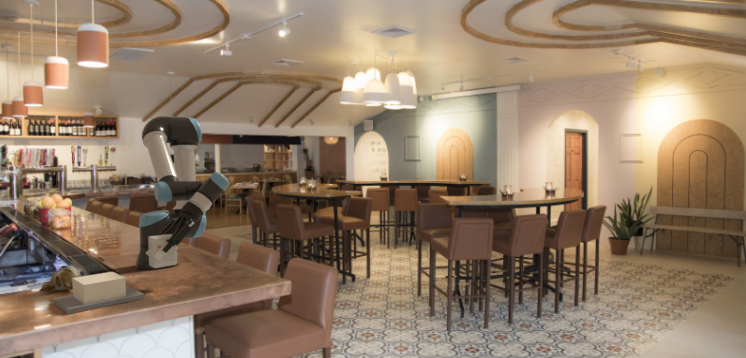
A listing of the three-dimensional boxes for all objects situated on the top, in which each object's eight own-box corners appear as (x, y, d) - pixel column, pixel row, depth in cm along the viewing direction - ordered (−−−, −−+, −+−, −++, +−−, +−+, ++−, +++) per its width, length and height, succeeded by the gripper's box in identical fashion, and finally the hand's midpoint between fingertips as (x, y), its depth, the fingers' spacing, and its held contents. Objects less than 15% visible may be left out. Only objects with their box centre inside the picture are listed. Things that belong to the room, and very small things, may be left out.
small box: (171, 261, 175) (170, 233, 174) (177, 264, 171) (177, 235, 170) (148, 265, 169) (147, 236, 168) (154, 268, 165) (153, 238, 165)
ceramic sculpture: (87, 259, 176) (71, 271, 161) (89, 282, 177) (72, 296, 162) (55, 261, 173) (35, 273, 159) (56, 284, 174) (37, 298, 160)
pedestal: (53, 303, 152) (52, 279, 152) (126, 289, 168) (125, 268, 168) (67, 314, 141) (67, 289, 141) (144, 298, 157) (143, 276, 157)
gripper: (215, 216, 174) (171, 268, 163) (191, 210, 186) (149, 258, 176) (201, 203, 169) (155, 255, 159) (178, 198, 182) (134, 246, 171)
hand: (152, 257), depth 167 cm, fingers closed on small box, 6 cm apart
